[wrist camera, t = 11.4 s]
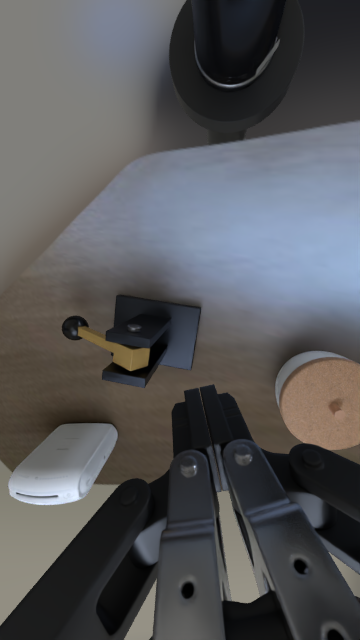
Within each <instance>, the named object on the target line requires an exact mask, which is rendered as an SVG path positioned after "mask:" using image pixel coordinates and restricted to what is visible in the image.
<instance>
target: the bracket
mask: <svg viewBox="0 0 360 640" xmlns="http://www.w3.org/2000/svg"><path fill="white" fill-rule="evenodd" d="M200 312H201V307H195V306H188V305H182V304H176V303H169V302H163V301H157V300H150V299H144V298H138V297H131V296H125V295H117V296H116V307H115V318H114V328H112V329H110V330H108V331H106V338H105V341H109V342H114V343H120V344H125V345H131V346H136V347H142V348H148V349H149V348H150V353H149V361H148V366H146V367H143V368H140V369H136V370H133V371H129V370H127V369H125V368H123V367H121V366H120V365H118V364H116V363H114V362H112V363H111V364H110V365H109V366H107V367H106V368H105V369H104V370H103V373H102V380H107V381H112V382H117V383H122V384H127V385H132V386H137V387H142V388H145V386H146V385H147V383H148V381H149V380H150V378H151V377H152V375H153V373H154V372H155V370H156V369H157V367H158V365H159V364H160V365H165V366H170V367H176V368H181V369H187V370H191V368H192V363H193V356H194V350H195V344H196V337H197V331H198V325H199V318H200ZM113 355H114V353H112V352H111V356H113Z"/></svg>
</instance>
